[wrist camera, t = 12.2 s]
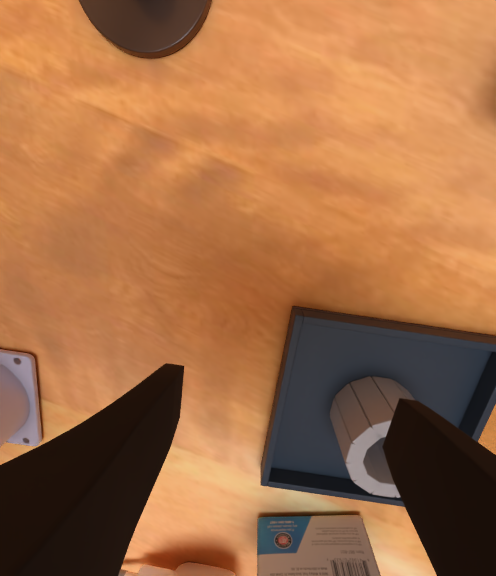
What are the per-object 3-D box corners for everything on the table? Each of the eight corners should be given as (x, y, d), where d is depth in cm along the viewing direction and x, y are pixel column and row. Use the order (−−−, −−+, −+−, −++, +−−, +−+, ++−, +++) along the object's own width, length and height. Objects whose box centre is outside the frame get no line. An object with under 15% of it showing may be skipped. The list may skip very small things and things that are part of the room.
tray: (260, 466, 22) (260, 485, 21) (292, 305, 18) (295, 314, 17) (431, 491, 22) (444, 512, 21) (500, 336, 18) (522, 348, 17)
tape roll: (322, 436, 21) (336, 490, 17) (340, 370, 19) (360, 412, 15) (398, 448, 21) (429, 503, 17) (422, 383, 19) (463, 428, 15)
